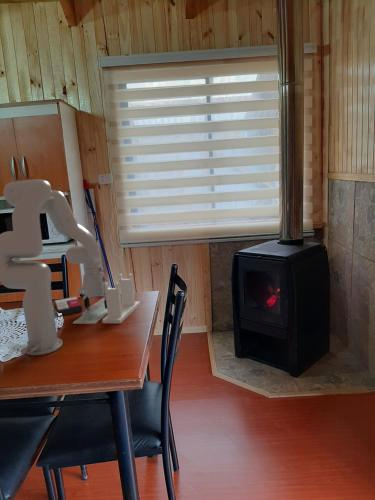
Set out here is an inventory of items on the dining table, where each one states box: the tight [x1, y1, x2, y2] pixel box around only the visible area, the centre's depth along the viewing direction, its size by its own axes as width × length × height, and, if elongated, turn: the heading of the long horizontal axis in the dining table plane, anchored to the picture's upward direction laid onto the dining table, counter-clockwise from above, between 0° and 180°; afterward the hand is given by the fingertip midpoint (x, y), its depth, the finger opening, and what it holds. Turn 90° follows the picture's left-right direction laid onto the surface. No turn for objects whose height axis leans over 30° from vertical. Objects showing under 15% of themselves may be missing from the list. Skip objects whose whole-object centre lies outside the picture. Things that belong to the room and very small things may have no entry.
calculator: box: [53, 296, 84, 316], centre depth 172 cm, size 11×4×15 cm
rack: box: [101, 273, 141, 324], centre depth 159 cm, size 24×8×16 cm, turn 167°
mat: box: [72, 309, 108, 325], centre depth 164 cm, size 26×10×1 cm, turn 167°
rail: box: [82, 297, 105, 320], centre depth 163 cm, size 20×4×4 cm, turn 167°
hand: (97, 307), depth 163 cm, fingers open, 9 cm apart
